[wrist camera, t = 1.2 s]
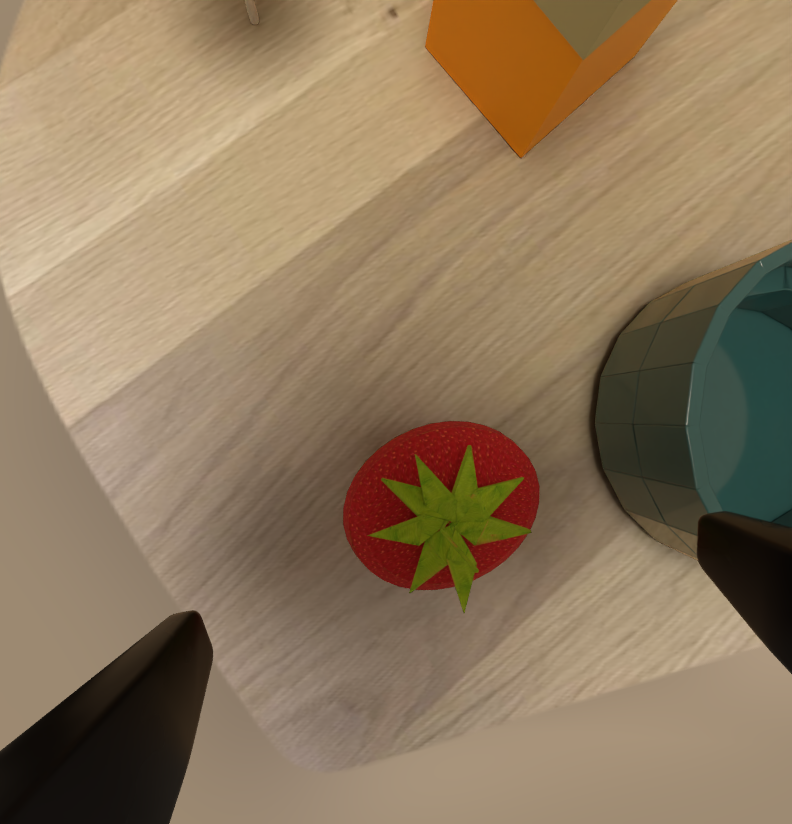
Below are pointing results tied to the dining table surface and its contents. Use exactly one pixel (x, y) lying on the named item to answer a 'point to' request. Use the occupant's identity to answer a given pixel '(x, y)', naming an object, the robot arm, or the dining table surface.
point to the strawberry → (441, 506)
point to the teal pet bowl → (704, 402)
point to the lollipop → (252, 11)
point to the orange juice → (537, 55)
